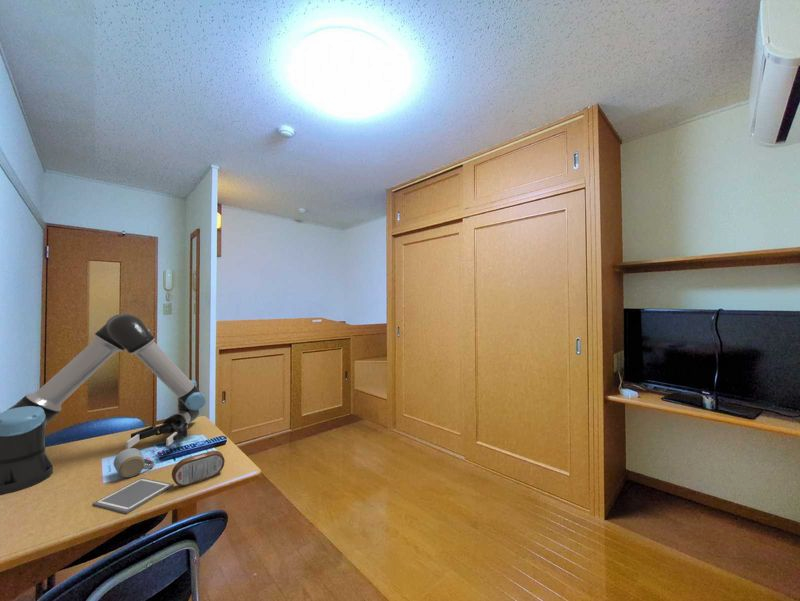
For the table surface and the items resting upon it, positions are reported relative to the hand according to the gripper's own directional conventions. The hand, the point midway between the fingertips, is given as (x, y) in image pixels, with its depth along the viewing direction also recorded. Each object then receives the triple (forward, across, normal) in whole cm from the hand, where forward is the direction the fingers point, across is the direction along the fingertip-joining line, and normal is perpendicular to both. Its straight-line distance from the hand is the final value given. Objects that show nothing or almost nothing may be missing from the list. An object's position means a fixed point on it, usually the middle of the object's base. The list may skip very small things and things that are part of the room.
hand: (147, 444), depth 122 cm
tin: (+18, -26, -6) cm, 32 cm away
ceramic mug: (+8, -1, -6) cm, 11 cm away
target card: (+24, -10, -6) cm, 26 cm away
